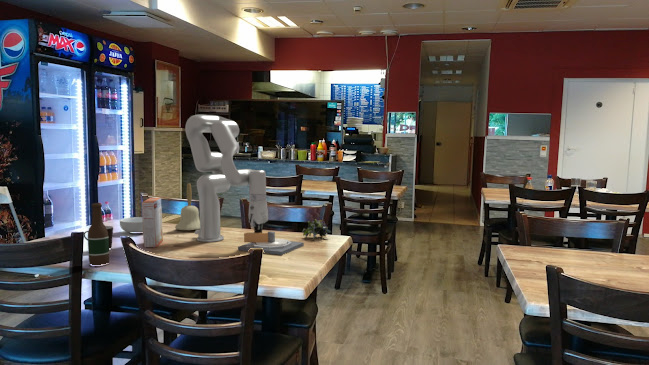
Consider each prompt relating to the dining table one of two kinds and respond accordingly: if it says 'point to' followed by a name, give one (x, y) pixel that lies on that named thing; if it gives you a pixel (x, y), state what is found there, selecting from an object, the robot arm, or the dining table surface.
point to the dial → (264, 239)
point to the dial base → (273, 247)
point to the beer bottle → (98, 238)
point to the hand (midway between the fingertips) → (258, 237)
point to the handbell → (189, 214)
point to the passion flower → (316, 228)
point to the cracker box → (152, 222)
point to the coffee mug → (110, 234)
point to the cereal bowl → (132, 224)
